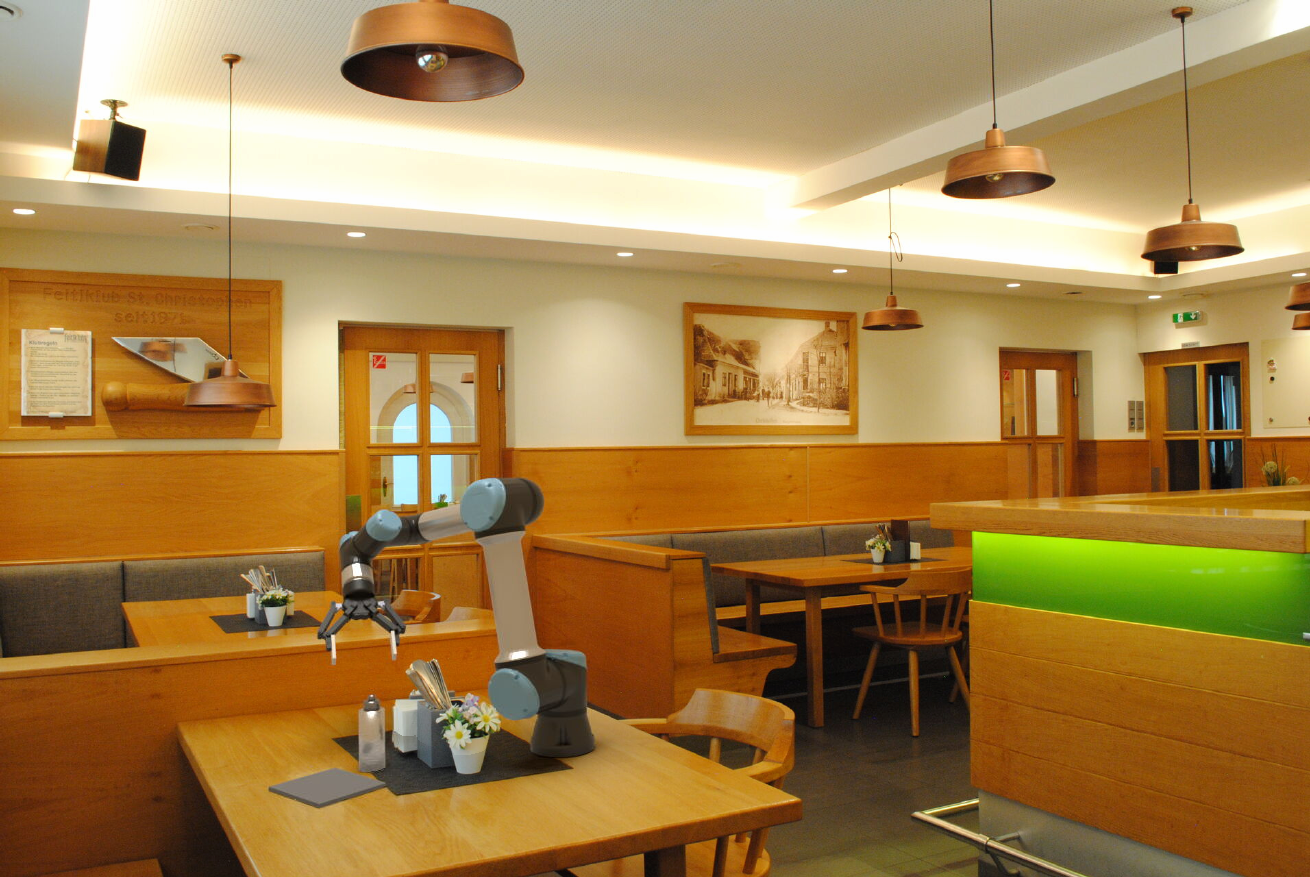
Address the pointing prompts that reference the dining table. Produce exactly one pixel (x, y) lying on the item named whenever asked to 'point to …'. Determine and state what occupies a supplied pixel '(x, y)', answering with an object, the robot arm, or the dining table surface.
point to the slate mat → (327, 787)
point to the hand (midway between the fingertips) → (364, 659)
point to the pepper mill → (371, 735)
